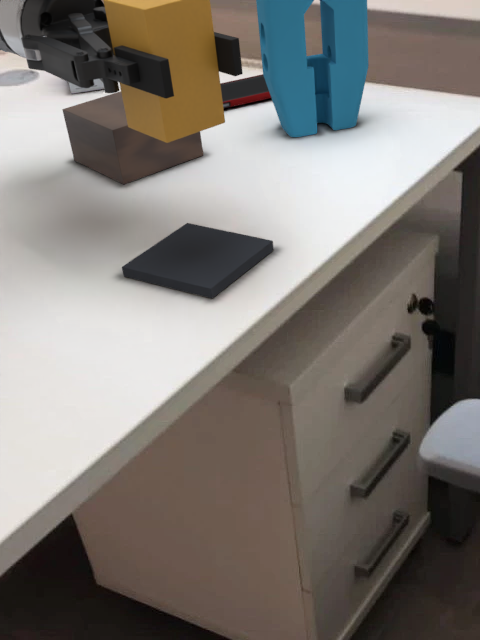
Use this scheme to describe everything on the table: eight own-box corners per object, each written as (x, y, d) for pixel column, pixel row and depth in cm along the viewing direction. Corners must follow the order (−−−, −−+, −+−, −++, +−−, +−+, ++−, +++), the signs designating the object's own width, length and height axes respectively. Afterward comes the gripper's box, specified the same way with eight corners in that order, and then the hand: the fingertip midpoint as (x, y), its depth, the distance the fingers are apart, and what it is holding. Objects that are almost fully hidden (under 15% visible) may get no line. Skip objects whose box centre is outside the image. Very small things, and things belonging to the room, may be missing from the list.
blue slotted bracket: (357, 111, 111) (352, -72, 98) (372, 123, 107) (368, -65, 95) (266, 127, 109) (248, -57, 96) (277, 140, 105) (260, -50, 92)
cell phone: (296, 93, 118) (295, 85, 117) (193, 116, 113) (192, 108, 113) (272, 79, 123) (271, 72, 123) (173, 101, 119) (172, 93, 118)
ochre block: (166, 143, 72) (144, 9, 65) (127, 127, 75) (102, -2, 69) (225, 122, 75) (209, -8, 68) (185, 108, 78) (166, -17, 72)
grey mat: (212, 298, 76) (210, 288, 76) (123, 276, 81) (121, 266, 80) (273, 250, 83) (273, 240, 82) (188, 232, 87) (187, 222, 86)
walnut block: (123, 184, 98) (112, 130, 94) (74, 160, 104) (62, 109, 101) (203, 155, 103) (196, 102, 99) (151, 134, 110) (142, 84, 106)
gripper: (-52, 2, 76) (85, 45, 61) (134, -40, 85) (291, -11, 71) (-26, 93, 80) (108, 152, 66) (148, 43, 89) (298, 86, 75)
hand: (202, 67), depth 68 cm, fingers closed on ochre block, 6 cm apart
